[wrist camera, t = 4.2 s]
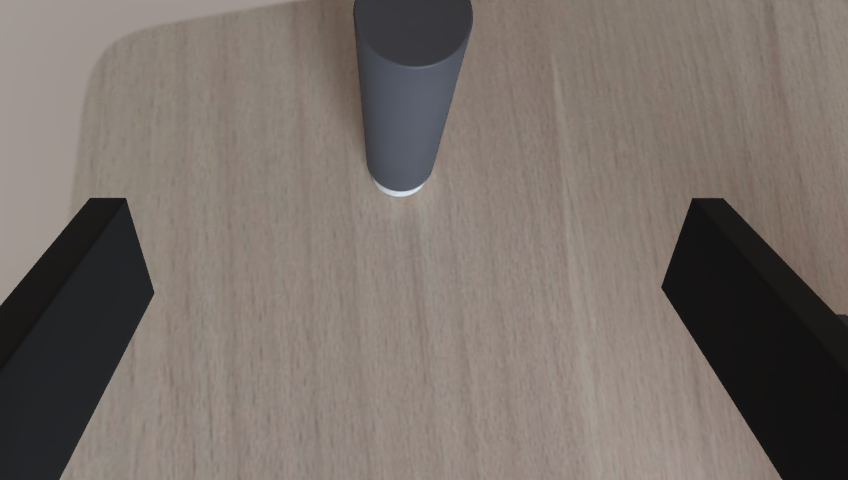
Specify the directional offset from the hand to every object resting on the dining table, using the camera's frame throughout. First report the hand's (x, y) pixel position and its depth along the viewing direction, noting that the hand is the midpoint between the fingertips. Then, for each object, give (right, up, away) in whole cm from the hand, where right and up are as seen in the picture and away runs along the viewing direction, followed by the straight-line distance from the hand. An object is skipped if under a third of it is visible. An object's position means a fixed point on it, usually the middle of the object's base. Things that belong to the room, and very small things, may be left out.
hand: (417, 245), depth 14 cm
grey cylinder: (-1, +3, +11) cm, 12 cm away
